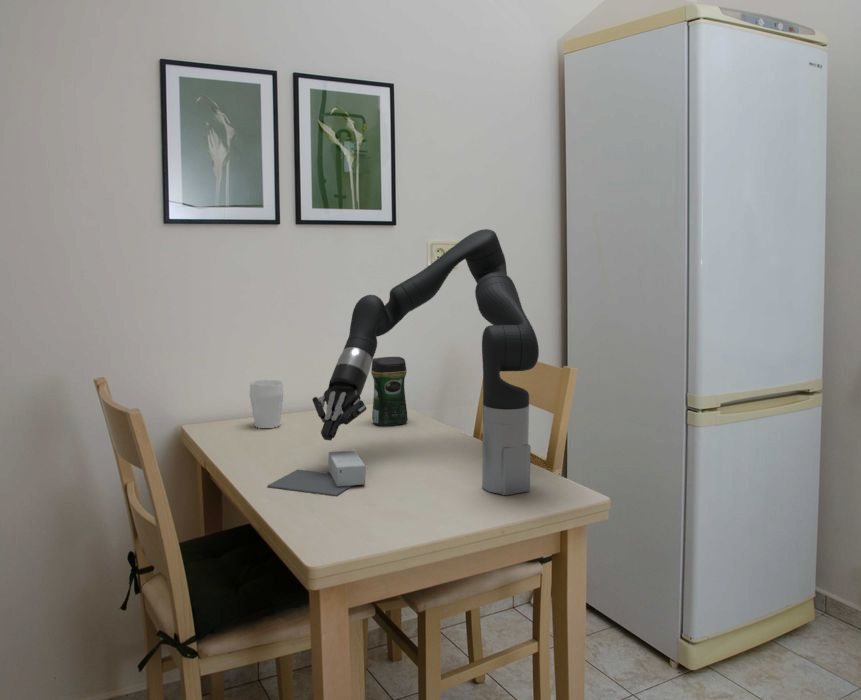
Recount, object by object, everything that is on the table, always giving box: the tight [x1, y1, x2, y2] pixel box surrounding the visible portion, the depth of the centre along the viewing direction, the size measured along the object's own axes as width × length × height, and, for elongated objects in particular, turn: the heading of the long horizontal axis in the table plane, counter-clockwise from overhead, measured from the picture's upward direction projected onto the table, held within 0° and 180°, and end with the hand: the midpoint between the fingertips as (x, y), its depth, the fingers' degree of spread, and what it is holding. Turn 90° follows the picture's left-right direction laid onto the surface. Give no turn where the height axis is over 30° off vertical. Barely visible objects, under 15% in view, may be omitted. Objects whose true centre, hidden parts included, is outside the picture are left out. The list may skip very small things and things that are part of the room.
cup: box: [249, 379, 285, 429], centre depth 205 cm, size 9×9×12 cm
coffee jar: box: [370, 356, 409, 427], centre depth 208 cm, size 10×8×19 cm
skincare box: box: [328, 450, 366, 487], centre depth 159 cm, size 6×4×12 cm
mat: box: [266, 469, 354, 497], centre depth 157 cm, size 12×16×1 cm
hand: (326, 438), depth 160 cm, fingers closed
